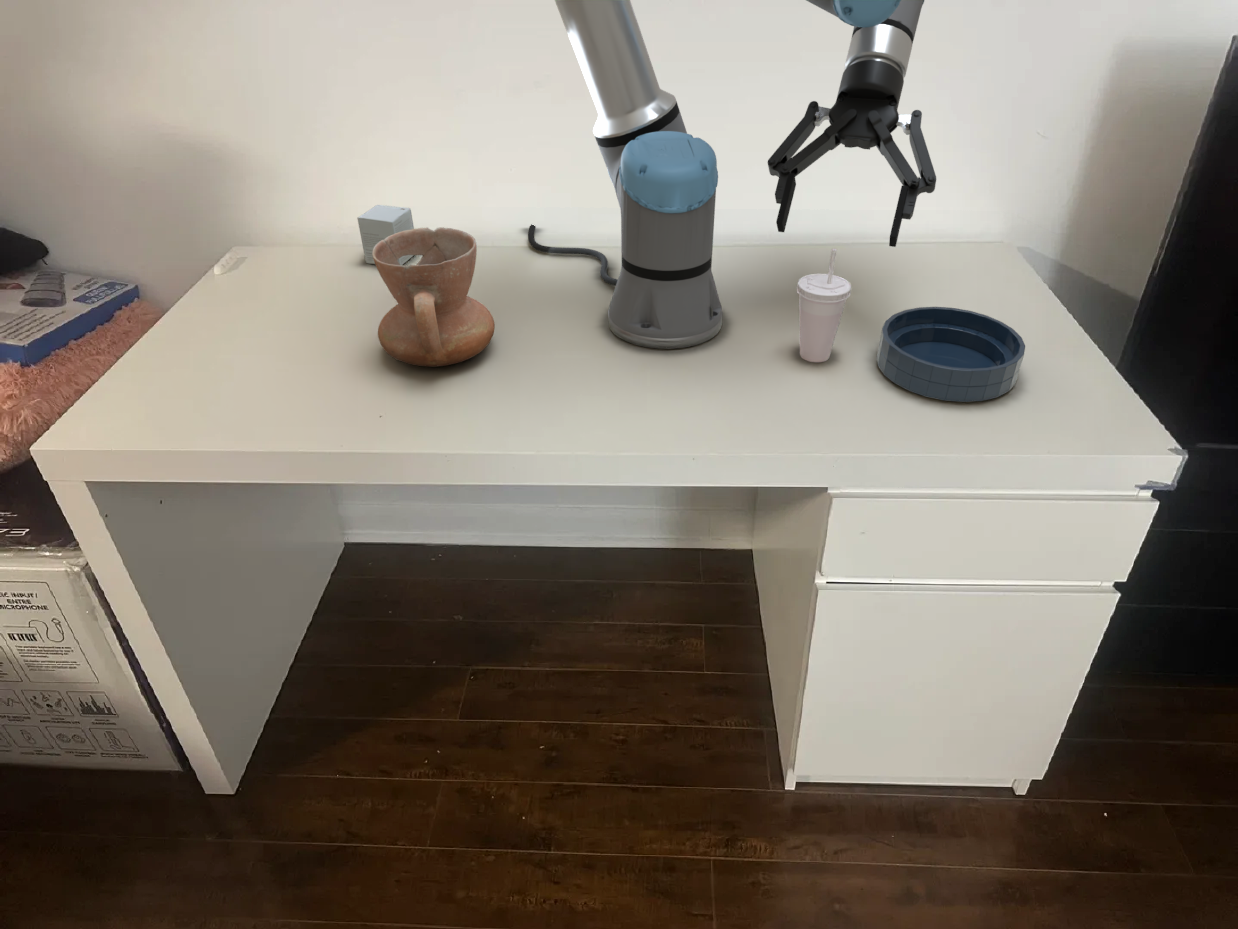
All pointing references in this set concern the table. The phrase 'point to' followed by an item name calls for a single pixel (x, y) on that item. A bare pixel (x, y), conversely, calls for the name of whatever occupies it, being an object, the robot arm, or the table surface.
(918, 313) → the bowl
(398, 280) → the ceramic jug
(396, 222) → the product box
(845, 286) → the smoothie
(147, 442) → the table surface
